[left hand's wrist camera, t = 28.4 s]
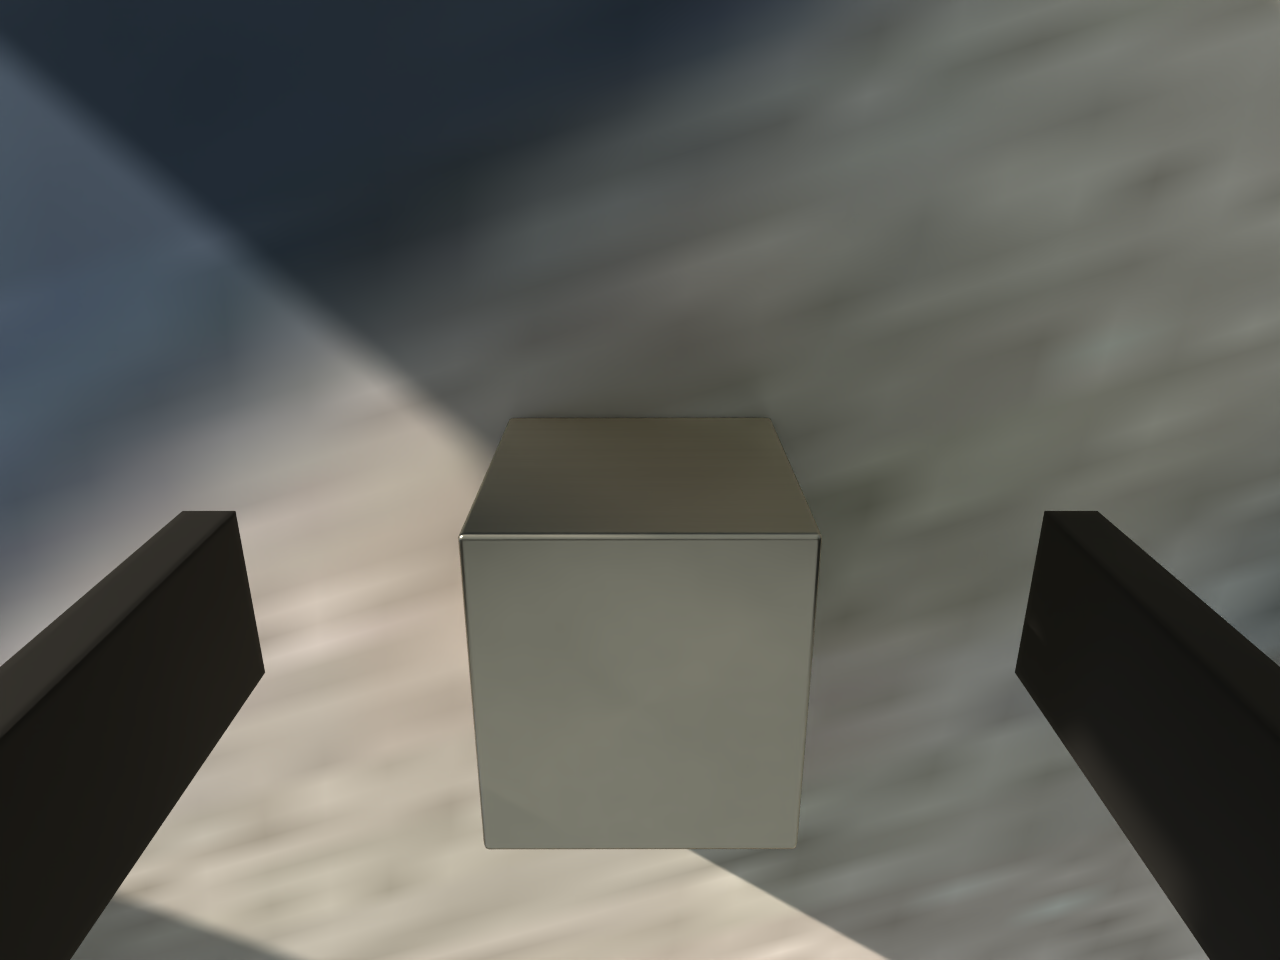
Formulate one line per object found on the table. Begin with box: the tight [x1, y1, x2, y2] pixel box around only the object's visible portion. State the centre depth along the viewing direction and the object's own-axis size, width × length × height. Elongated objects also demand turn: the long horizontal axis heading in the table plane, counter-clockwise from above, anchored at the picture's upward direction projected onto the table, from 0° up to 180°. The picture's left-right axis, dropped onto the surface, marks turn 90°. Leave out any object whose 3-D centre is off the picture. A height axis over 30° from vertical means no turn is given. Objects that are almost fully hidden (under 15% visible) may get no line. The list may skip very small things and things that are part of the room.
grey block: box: [458, 418, 822, 849], centre depth 13 cm, size 4×5×4 cm
